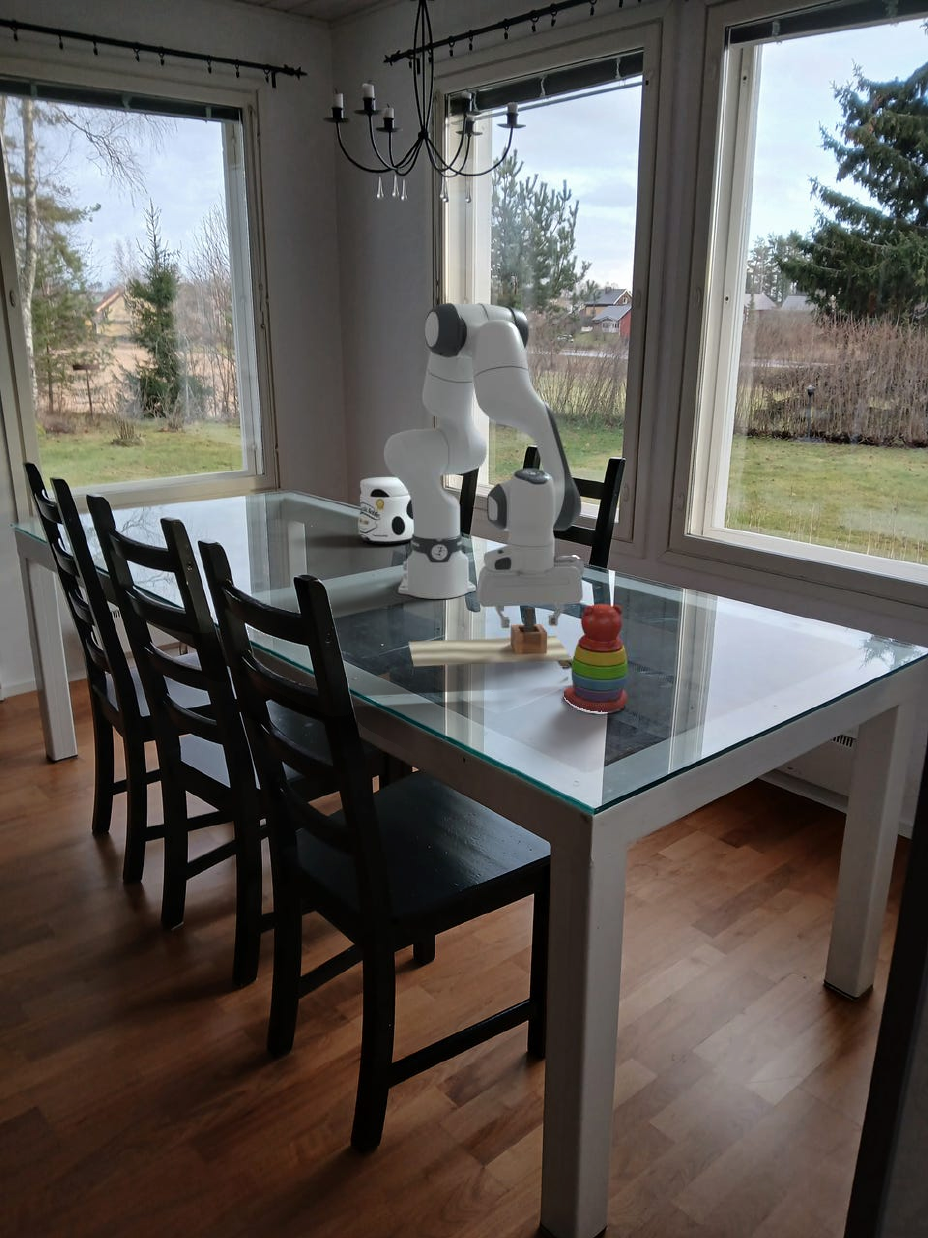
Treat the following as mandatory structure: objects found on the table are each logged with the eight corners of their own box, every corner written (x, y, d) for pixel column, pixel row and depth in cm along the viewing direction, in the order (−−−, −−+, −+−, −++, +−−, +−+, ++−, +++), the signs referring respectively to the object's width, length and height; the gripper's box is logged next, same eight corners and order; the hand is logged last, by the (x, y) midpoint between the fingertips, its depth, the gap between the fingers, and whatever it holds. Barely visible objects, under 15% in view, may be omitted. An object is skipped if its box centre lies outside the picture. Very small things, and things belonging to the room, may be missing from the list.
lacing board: (408, 649, 188) (407, 603, 185) (555, 642, 192) (557, 598, 189) (413, 673, 175) (413, 625, 172) (571, 666, 178) (573, 618, 175)
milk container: (349, 545, 275) (347, 484, 270) (371, 533, 291) (370, 475, 286) (404, 549, 270) (403, 487, 265) (424, 536, 286) (424, 477, 281)
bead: (510, 644, 186) (510, 625, 185) (540, 643, 187) (540, 623, 186) (516, 654, 180) (516, 634, 179) (546, 653, 181) (547, 633, 180)
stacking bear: (622, 692, 166) (627, 595, 161) (635, 715, 156) (641, 612, 151) (561, 693, 166) (564, 596, 160) (570, 716, 156) (574, 613, 151)
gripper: (580, 551, 182) (577, 619, 187) (475, 554, 180) (475, 623, 184) (588, 559, 176) (585, 629, 181) (480, 562, 174) (480, 633, 178)
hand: (529, 626), depth 182 cm, fingers open, 8 cm apart
